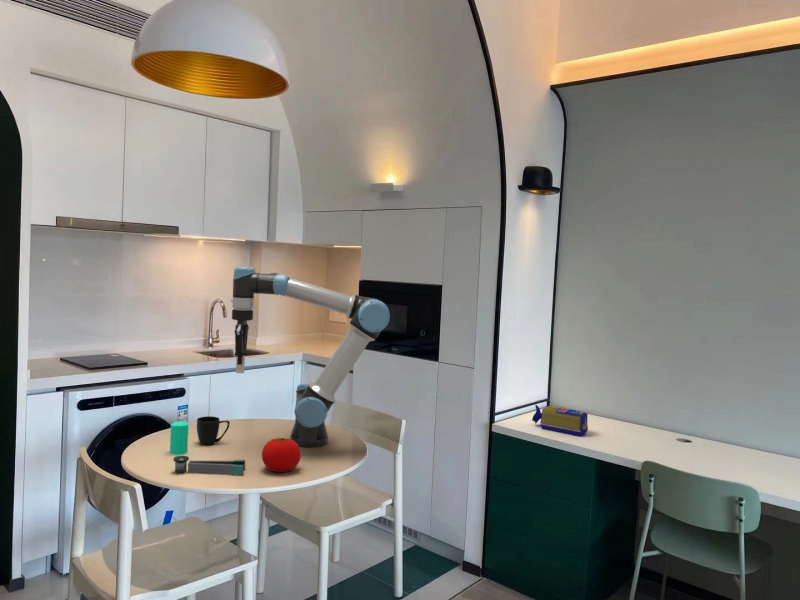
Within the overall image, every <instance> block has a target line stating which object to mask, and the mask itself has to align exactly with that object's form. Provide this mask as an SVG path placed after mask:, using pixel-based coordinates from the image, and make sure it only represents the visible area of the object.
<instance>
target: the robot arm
mask: <svg viewBox="0 0 800 600" xmlns="http://www.w3.org/2000/svg"><path fill="white" fill-rule="evenodd" d="M233 269H234V270H233V278H232V299H231V300H230V302H231V303H232V304H231V305H232V308H233V309H232V311H231V320H233V321H236V322H237V323H236V325H235V329H234V339H235V340H234V342H235V343H234V346H235V347H234V349H235V350H234V351H235V352H234V356H236V362H235V364H236V365H235V374H245V363H246V362H245V360H246V359H245V358H246V356H247V355H248V352H247V349H248V335H249V329H250V328H249V324H248V321H253V319H254V311H253V309H254V308H255V307H254V302H255V294H256V295H258V294H260V295H262V294H263V295H273V296H274V295H276V296H282V297H287V298H289V299H293V300H296V301H300V302H303V303H306V304H310V305H313V306H316V307H320V308H321V309H327V310H330V311H333V312H336V313H340V314H343V315H345V316H346V318H347V319H350V321H349V323H348V326H349V330H348V332H347V333H346V335H345V336H344V338H342V341H341V342H340V344H339V345H338V346H337V348H336V350H335V351H334V352H333V354H332V356H331V357H330V359H329V361H328V362H327V363H326V365H325V367H324V368H323V369H322V371H321V373H320V374H319V376H318V377H317V379H316V381H315V382H312V383H304V384H303V383H302V384H298V385H297V386H296V391H295V393H296V396H295V397H296V398H295V407H294V416H295V417H294V419H295V420H294V425H293V428H292V429H291V432H290V435H289V439H291V440H293V441H295V442H296V443H297V444H298V446H299V447H303V448H304V447H305V448H315V447H322V446H325V445H327V444H328V442H329V435H328V431H327V427H326V423H325V421H326V419H327V416H328V412H329V411H330V409H331V407H332V406H333V405H334V403H335V401H336V399H335V395H336V392H337V391H338V390H339V389H340V387H341V386H342V383H343V382H344V381H345V379H346V378H347V376H348V375H349V373H350V372H351V370H352V368H353V367H354V366H355V364H356V362H357V361H358V359H359V358H360V356H361V354H362V353H363V352H364V350H365V349H366V347H367V346H368V344H369V343H370V342H374V341H376V339H377V338H378V337H379V335H380V334H381V332H382V331H383V330H385V328H387V326H388V324H389V322H390V317H391V316H390V314H391V313H390V310H389V308H388V306H387V304H386V303H385V302H383V301H381V300H379V299H378V298H374V297H366V296H361V295H357V294H353V295H349V294H345V293H342V292H339V291H335V290H332V289H329V288H325V287H321V286H320V285H319V286H318V285H315V284H312V283H309V282H305V281H302V280H299V279H295V278H294V277H293V278H292V277H288V275H286V274H281V273H278V272H271V273H260V272H259V273H258V272H256V269H255V268H254V267H248V266H236V267H235V268H233Z"/></svg>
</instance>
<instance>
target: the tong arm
mask: <svg viewBox="0 0 800 600" xmlns="http://www.w3.org/2000/svg"><path fill="white" fill-rule="evenodd" d="M188 463H212V464H235V465H244V471H245V469H246V459H234V460H188Z"/></svg>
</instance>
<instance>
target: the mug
mask: <svg viewBox="0 0 800 600" xmlns="http://www.w3.org/2000/svg"><path fill="white" fill-rule="evenodd" d="M223 423H226V428H225V430H224V431H223V432H222V434H221V436H220V437H218V434H219V431H220V424H223ZM229 428H230V421H229V420H220V418H219V417H217V416H210V415H209V416H200V417H198V418H196V433H197V434H196V435H197V439H198V441H199V445H201V446H206V447H207V446H213V445H215V444H216V443H218V442H220V441H221V440H222V438H223V437H224V436H225V434H226V433H227V431H228V430H229Z"/></svg>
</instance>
